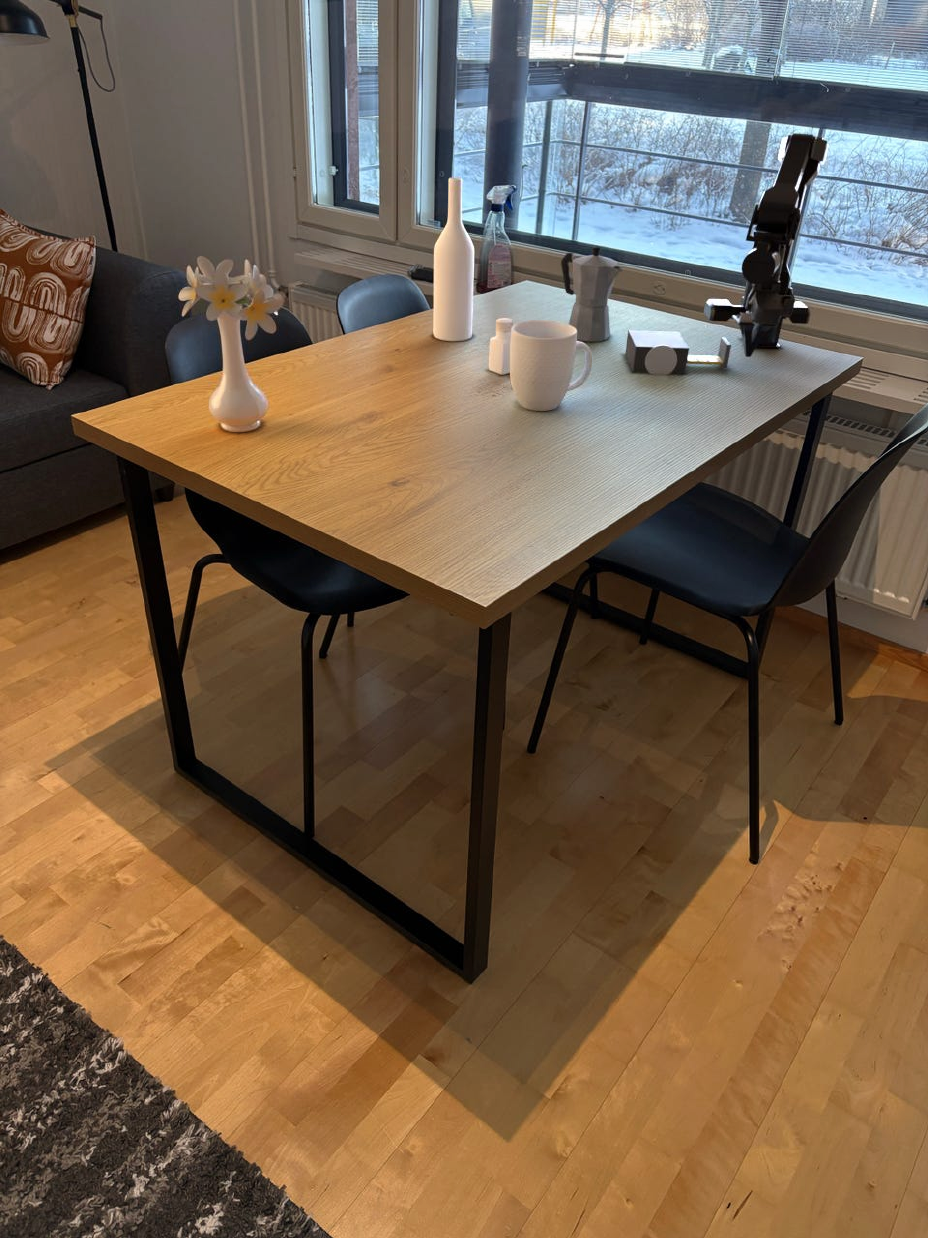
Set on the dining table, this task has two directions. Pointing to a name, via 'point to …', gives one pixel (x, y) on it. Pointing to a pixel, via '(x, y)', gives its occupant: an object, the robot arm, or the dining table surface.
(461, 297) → the bottle
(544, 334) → the mug
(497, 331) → the pepper shaker
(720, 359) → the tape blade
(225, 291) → the flower vase
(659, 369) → the tape case
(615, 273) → the coffeepot
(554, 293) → the dining table surface
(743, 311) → the robot arm
